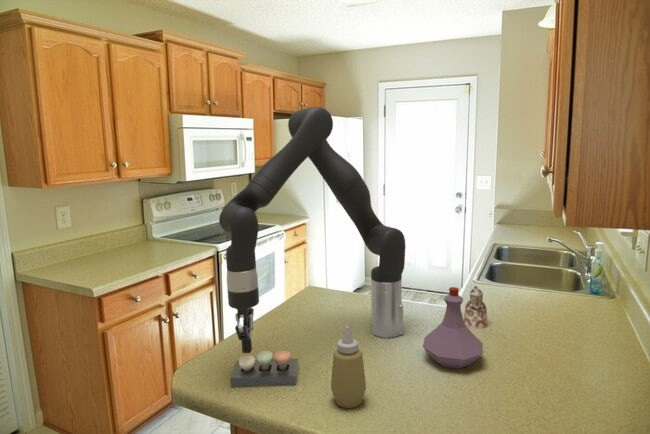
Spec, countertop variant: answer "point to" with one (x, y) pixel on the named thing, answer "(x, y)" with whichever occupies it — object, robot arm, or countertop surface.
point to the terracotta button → (282, 359)
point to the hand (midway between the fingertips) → (247, 351)
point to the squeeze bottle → (348, 372)
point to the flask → (453, 337)
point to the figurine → (475, 310)
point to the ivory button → (247, 363)
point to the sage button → (265, 360)
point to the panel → (265, 375)
